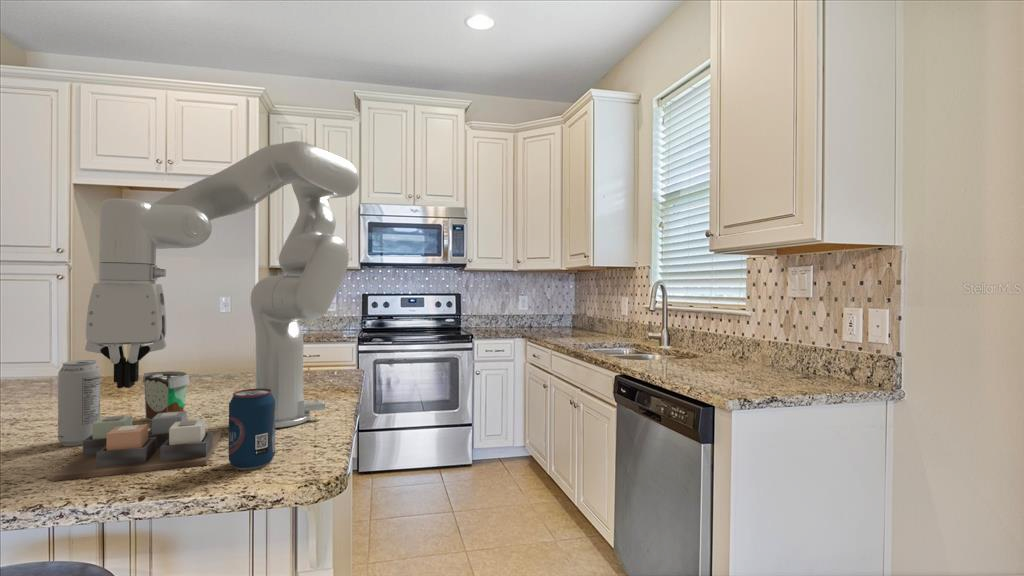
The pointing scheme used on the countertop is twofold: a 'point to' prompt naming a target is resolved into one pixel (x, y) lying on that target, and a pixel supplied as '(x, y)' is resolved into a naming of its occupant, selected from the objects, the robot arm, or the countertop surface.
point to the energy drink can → (78, 401)
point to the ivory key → (187, 432)
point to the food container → (164, 392)
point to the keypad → (138, 457)
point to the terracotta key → (127, 437)
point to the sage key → (109, 425)
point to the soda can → (251, 428)
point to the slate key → (167, 421)
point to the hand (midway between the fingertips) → (126, 386)
